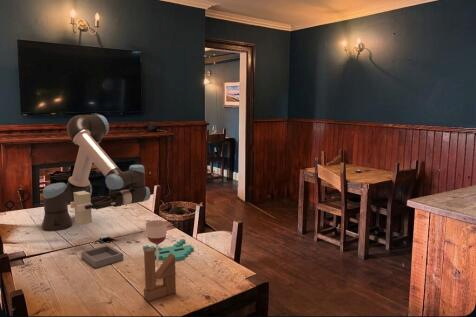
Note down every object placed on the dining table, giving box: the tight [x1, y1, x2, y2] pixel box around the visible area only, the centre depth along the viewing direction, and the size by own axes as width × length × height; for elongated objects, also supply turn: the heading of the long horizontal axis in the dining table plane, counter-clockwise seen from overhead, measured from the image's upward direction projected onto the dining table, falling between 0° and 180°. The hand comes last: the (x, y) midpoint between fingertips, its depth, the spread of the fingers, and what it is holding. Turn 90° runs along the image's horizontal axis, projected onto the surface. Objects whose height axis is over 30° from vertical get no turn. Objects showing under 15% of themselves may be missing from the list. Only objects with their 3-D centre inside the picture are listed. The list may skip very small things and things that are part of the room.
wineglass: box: [145, 219, 168, 273], centre depth 155 cm, size 8×9×20 cm
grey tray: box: [80, 244, 124, 270], centre depth 168 cm, size 14×12×3 cm
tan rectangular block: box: [74, 191, 93, 226], centre depth 180 cm, size 7×5×14 cm
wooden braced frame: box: [143, 248, 177, 302], centre depth 136 cm, size 4×11×18 cm, turn 126°
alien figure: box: [142, 238, 195, 262], centre depth 175 cm, size 20×2×20 cm
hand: (74, 206), depth 177 cm, fingers closed on tan rectangular block, 7 cm apart
